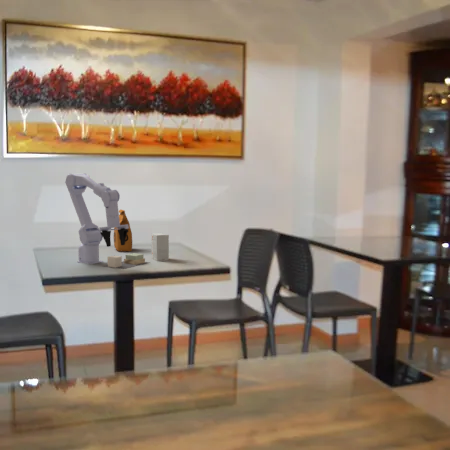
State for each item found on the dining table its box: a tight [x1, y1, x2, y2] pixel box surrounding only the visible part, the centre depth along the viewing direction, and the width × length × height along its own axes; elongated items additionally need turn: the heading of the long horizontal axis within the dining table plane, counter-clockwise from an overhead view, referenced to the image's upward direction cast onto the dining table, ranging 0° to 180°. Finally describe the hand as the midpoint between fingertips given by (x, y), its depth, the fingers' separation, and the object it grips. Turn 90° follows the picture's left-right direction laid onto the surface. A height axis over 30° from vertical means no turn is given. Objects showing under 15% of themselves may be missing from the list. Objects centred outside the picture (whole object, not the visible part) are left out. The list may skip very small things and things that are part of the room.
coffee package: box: [113, 209, 133, 252], centre depth 320 cm, size 10×12×22 cm
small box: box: [151, 232, 170, 262], centre depth 290 cm, size 8×6×13 cm
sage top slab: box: [125, 252, 144, 260], centre depth 279 cm, size 6×6×2 cm
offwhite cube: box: [107, 255, 123, 268], centre depth 270 cm, size 4×4×4 cm
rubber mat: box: [103, 260, 151, 270], centre depth 275 cm, size 13×20×1 cm, turn 150°
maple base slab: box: [123, 257, 146, 265], centre depth 279 cm, size 7×7×2 cm
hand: (115, 245), depth 269 cm, fingers open, 7 cm apart
